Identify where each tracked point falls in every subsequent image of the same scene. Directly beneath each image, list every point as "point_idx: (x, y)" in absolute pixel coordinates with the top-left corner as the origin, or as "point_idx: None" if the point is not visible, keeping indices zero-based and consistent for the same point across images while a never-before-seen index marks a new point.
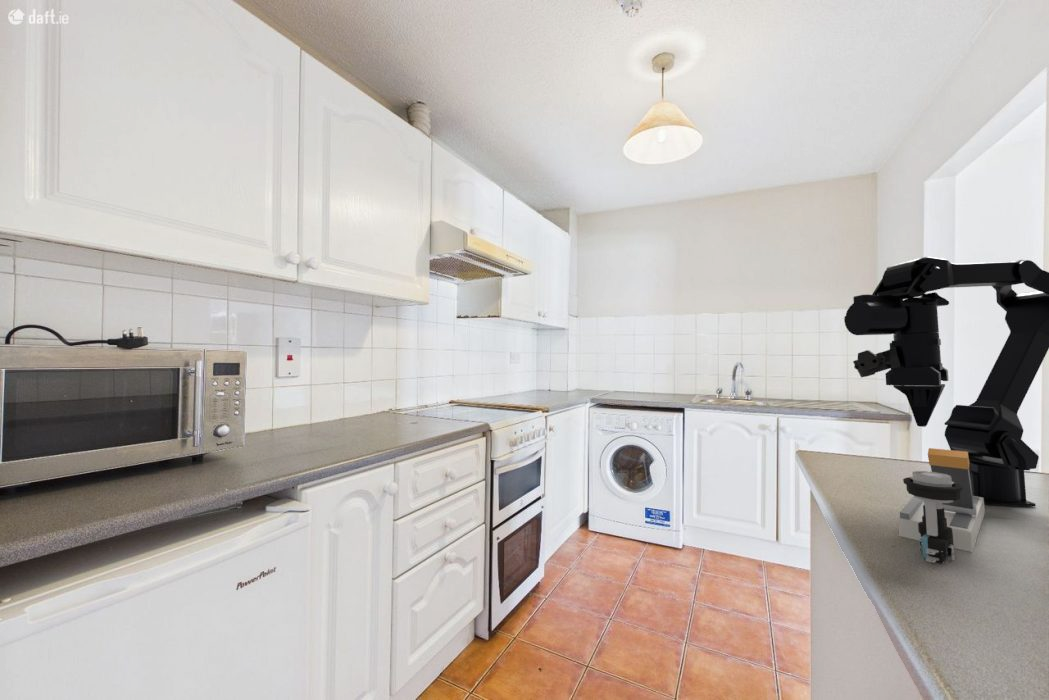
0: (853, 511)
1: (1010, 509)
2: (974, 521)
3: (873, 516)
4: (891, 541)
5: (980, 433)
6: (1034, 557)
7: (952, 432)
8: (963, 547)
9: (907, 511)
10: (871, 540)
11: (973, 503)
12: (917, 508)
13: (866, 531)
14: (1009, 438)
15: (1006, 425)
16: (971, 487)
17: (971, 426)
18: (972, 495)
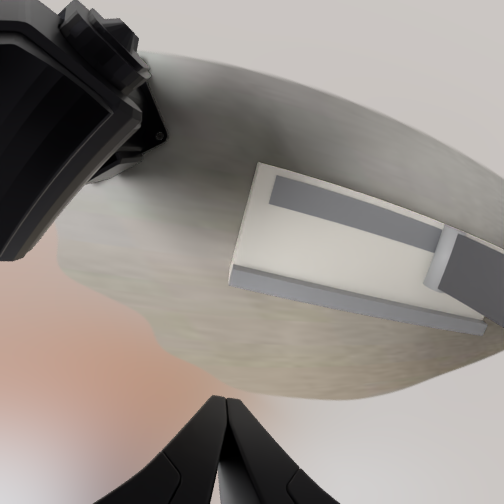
0: (358, 377)
1: (178, 102)
2: (470, 235)
3: (377, 352)
4: None
5: (95, 138)
6: (484, 172)
7: (25, 238)
8: None
9: (477, 327)
10: (477, 344)
11: (460, 234)
12: (431, 310)
13: (450, 353)
14: (113, 35)
15: (43, 24)
16: (495, 250)
17: (56, 175)
18: (477, 242)
